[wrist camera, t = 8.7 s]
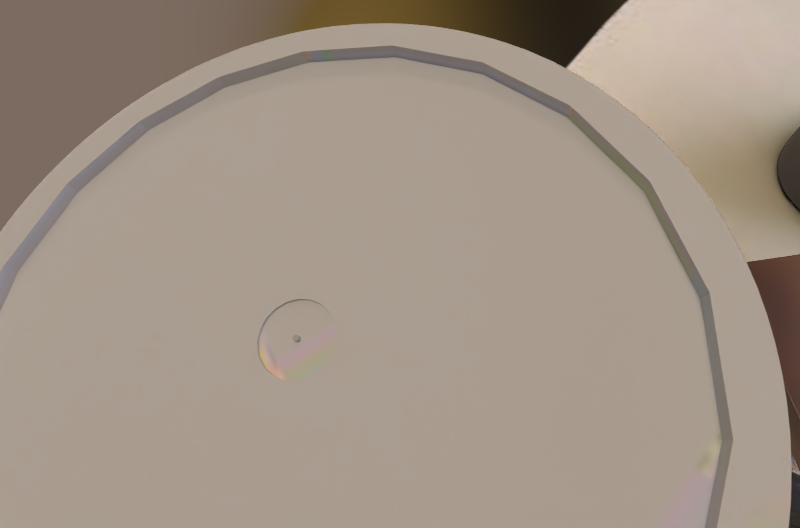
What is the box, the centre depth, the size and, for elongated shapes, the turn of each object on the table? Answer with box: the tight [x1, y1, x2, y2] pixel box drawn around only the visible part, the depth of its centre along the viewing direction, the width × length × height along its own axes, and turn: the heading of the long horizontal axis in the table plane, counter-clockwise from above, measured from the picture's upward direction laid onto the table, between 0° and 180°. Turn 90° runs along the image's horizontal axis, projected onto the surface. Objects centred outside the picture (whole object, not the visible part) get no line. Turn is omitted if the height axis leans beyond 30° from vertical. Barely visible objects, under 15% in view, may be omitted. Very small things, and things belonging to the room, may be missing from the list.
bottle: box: [0, 23, 792, 528], centre depth 10 cm, size 7×7×15 cm
